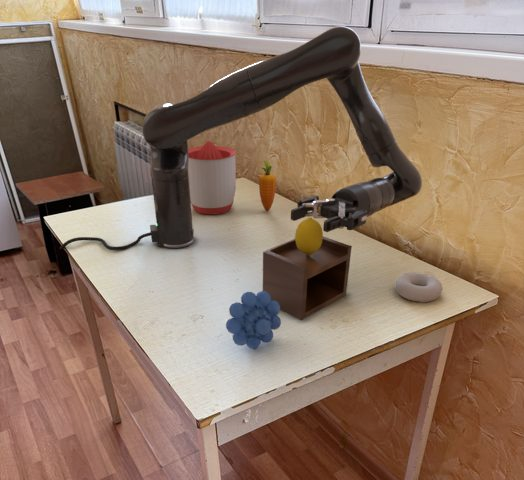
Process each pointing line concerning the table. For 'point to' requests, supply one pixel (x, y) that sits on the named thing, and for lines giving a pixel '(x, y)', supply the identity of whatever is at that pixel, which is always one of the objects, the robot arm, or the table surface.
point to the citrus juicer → (212, 178)
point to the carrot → (267, 187)
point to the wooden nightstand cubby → (306, 276)
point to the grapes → (253, 319)
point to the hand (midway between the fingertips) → (308, 221)
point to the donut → (418, 287)
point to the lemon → (309, 236)
